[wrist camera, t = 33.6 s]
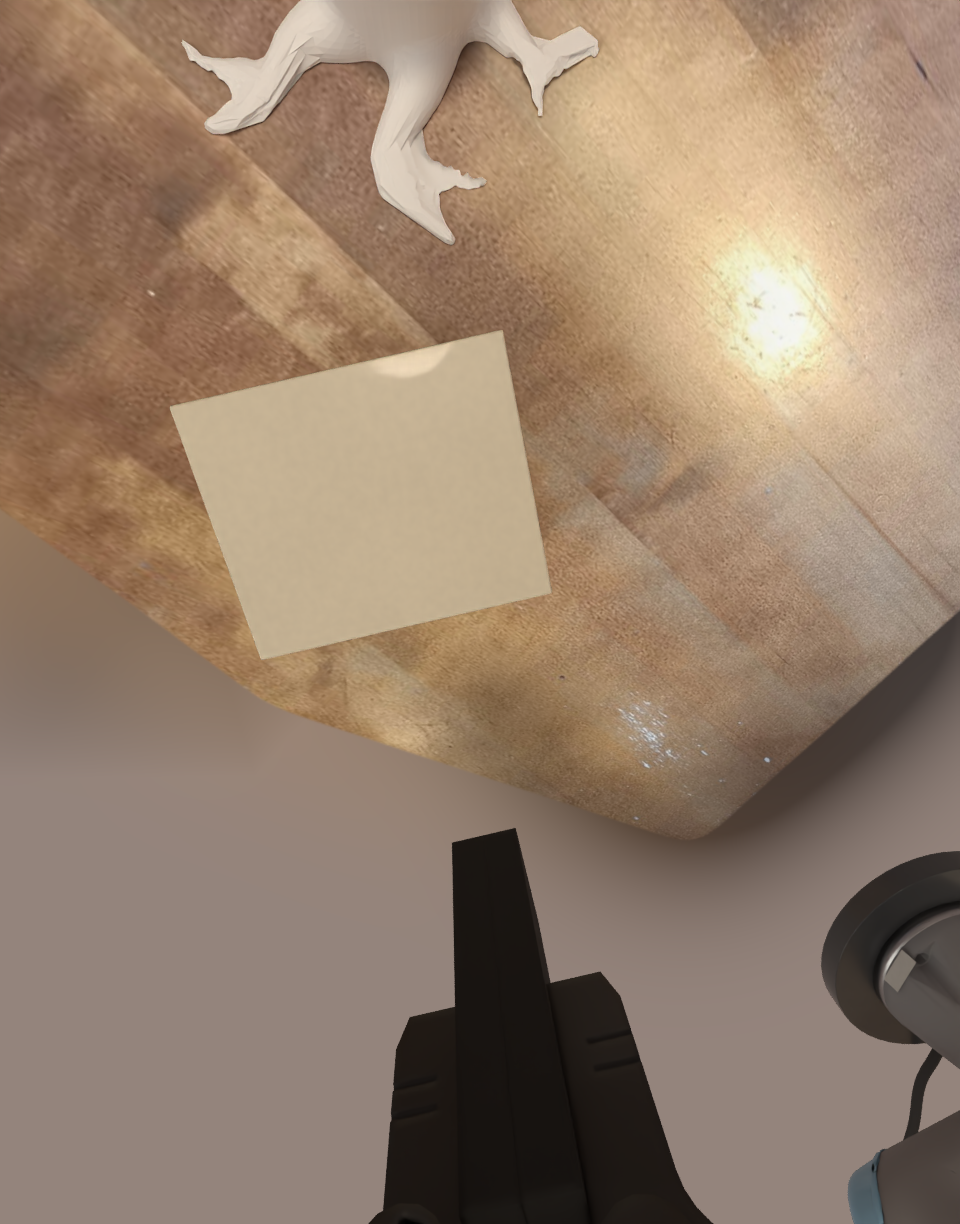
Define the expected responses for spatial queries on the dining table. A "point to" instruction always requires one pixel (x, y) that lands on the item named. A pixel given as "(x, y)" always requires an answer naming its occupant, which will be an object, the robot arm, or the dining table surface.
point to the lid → (370, 494)
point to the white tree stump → (393, 77)
